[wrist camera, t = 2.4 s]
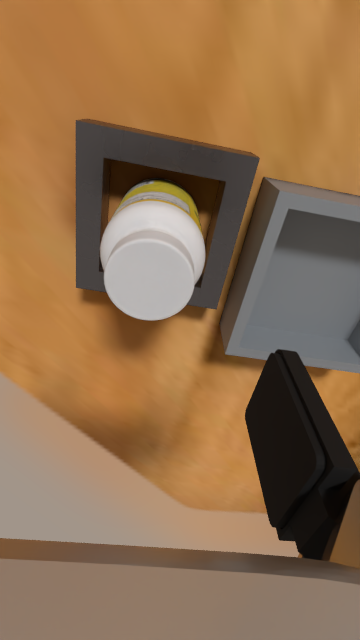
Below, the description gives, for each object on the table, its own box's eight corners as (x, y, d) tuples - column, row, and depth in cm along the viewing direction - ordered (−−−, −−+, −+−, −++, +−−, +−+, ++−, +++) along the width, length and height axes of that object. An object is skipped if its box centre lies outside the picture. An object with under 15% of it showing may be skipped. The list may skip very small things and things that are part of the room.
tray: (427, 209, 22) (472, 228, 18) (348, 342, 28) (370, 374, 25) (263, 177, 21) (279, 190, 17) (219, 323, 27) (225, 354, 24)
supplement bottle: (185, 263, 24) (187, 345, 16) (113, 243, 23) (76, 318, 15) (210, 191, 21) (229, 245, 13) (129, 164, 20) (95, 203, 12)
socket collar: (251, 152, 20) (259, 158, 18) (213, 292, 25) (216, 309, 23) (87, 118, 19) (75, 120, 17) (84, 272, 24) (76, 287, 22)
